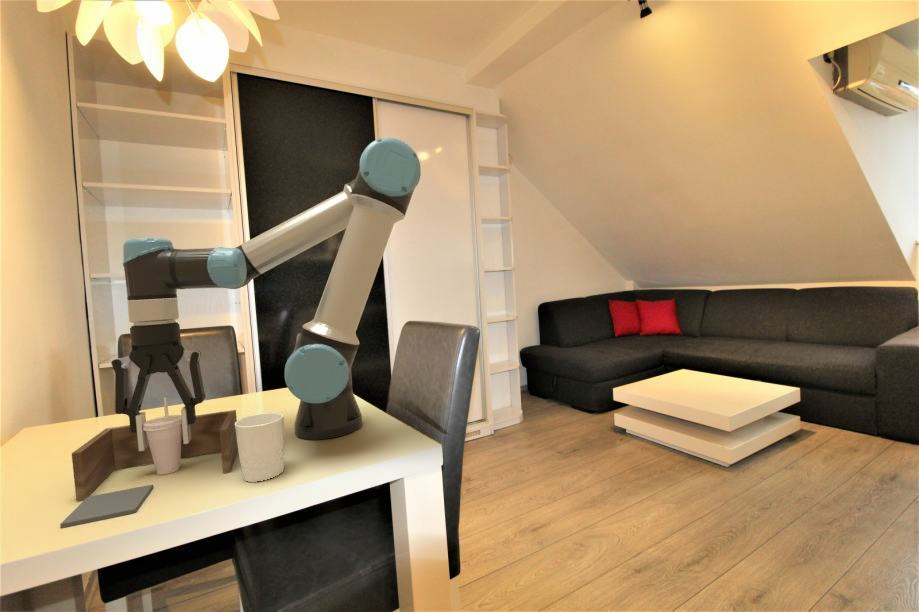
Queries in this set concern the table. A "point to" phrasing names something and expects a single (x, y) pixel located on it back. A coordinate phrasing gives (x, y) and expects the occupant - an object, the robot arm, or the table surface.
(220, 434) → the wooden enclosure
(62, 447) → the table surface
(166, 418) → the smoothie
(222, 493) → the table surface
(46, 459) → the table surface
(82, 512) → the mat
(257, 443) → the white cup
